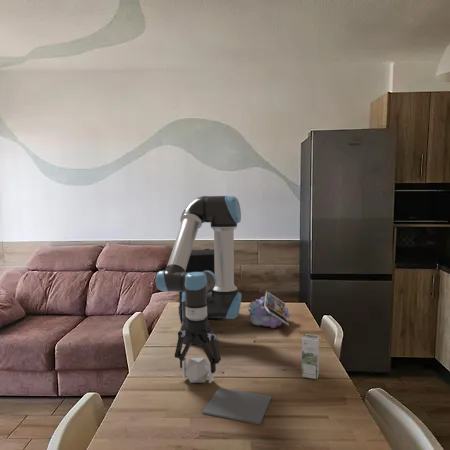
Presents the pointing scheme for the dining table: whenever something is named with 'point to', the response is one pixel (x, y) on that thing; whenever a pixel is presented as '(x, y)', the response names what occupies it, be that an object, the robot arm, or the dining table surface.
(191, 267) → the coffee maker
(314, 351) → the syrup box
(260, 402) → the mat
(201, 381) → the die
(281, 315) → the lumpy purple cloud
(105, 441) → the dining table surface
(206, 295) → the robot arm
